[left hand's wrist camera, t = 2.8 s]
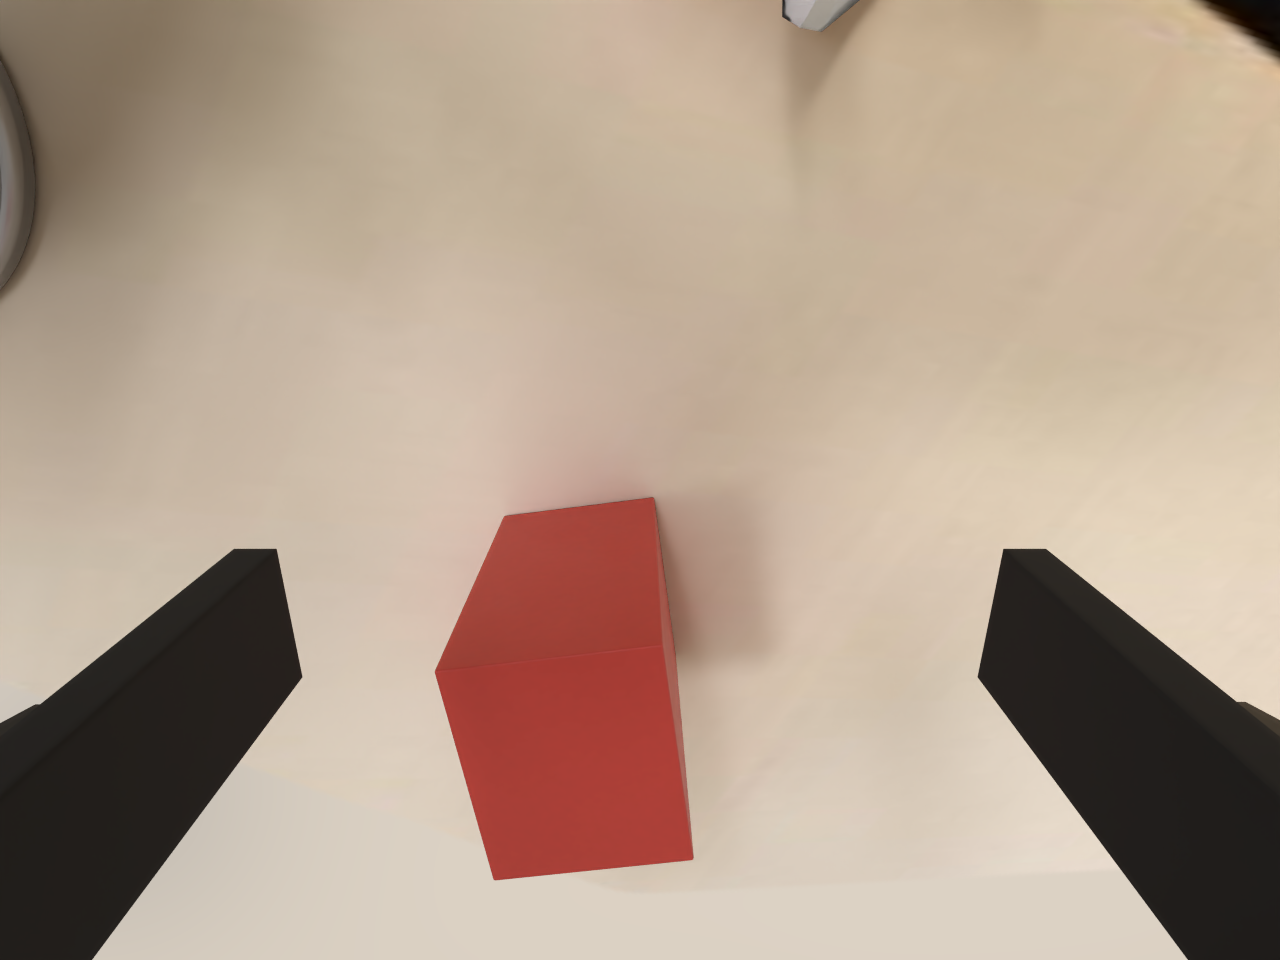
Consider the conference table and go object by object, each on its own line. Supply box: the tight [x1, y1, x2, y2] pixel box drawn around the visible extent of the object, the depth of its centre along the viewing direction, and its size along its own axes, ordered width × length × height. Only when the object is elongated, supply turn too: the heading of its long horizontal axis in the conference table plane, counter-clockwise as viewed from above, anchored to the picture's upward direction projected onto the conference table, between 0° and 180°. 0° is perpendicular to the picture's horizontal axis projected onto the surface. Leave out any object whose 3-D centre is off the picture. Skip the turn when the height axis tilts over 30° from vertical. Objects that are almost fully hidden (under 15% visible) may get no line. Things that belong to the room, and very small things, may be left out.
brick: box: [435, 498, 694, 880], centre depth 27 cm, size 7×9×12 cm
